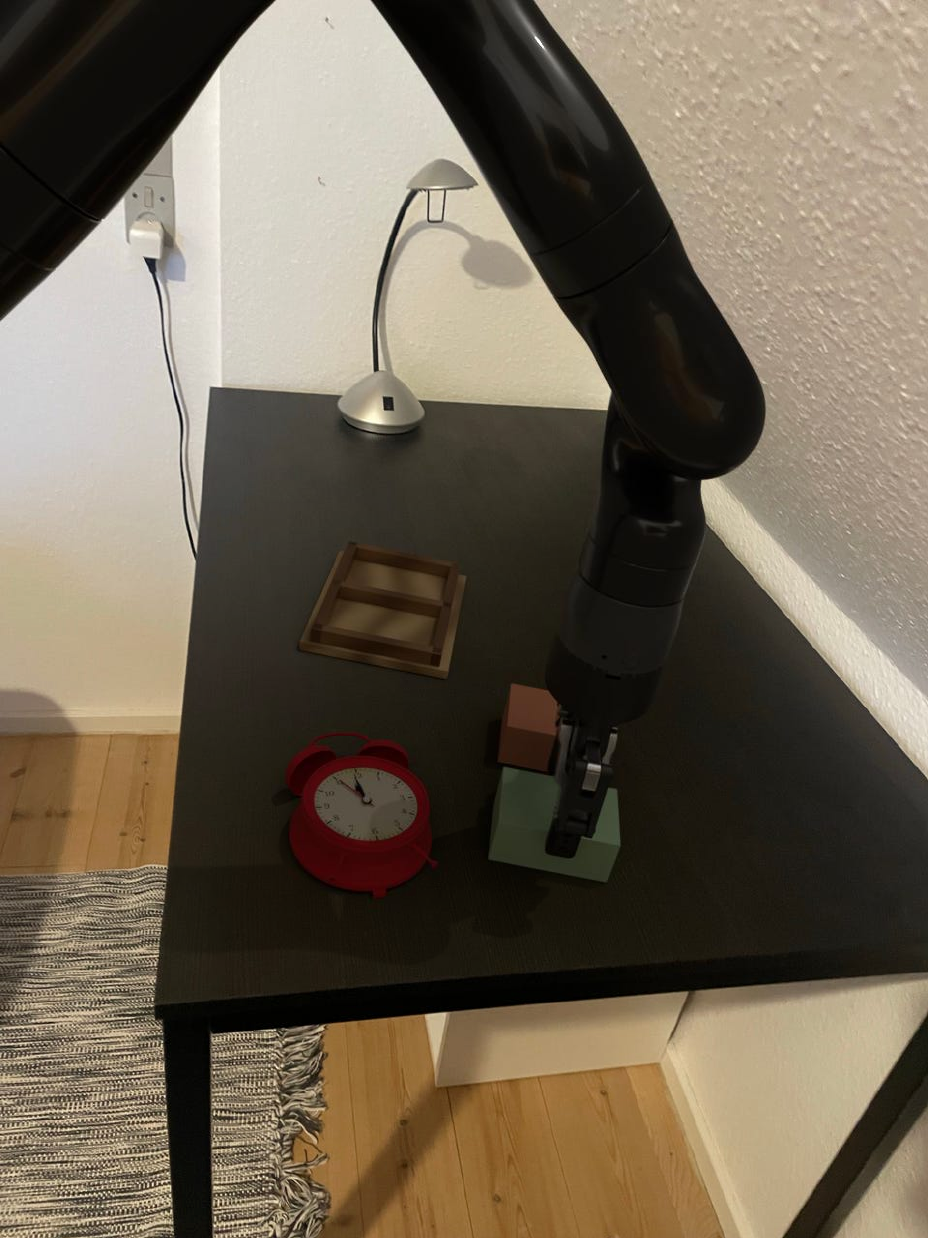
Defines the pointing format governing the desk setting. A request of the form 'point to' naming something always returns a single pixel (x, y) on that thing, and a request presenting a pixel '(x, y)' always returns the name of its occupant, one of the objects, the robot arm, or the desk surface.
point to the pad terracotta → (528, 727)
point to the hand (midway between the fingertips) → (559, 811)
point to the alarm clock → (359, 816)
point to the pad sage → (527, 822)
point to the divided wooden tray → (388, 610)
